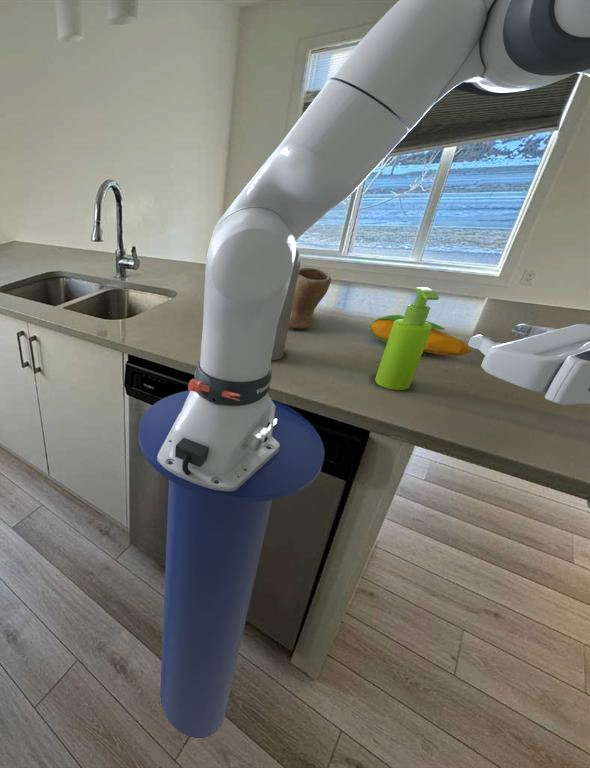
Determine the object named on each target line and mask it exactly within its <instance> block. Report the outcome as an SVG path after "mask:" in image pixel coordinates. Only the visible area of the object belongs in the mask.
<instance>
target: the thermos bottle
mask: <svg viewBox="0 0 590 768" xmlns="http://www.w3.org/2000/svg"><path fill="white" fill-rule="evenodd" d="M295 245H296V246H297V240H296V241H295ZM299 257H300V251H299V250H298V249H296V257H295V262H294V266H293V271H292V275H291V279H290V283H289V287H288V291H287V295H286V298H285V302H284V305H283V309H282V312H281V315H280V318H279V321H278V325H277V330H276V335H275V341H274V347H273V352H272V358H271V361H277V360H280V359H281V358H283V357H284V353H285V347H286V343H287V337H288V332H289V328H288V327H289V321H290V316H291V311H292V306H293V301H294V296H295V290H296V285H297V280H298V274H299V269H300V268H301V261H300V260H299Z"/></svg>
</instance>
